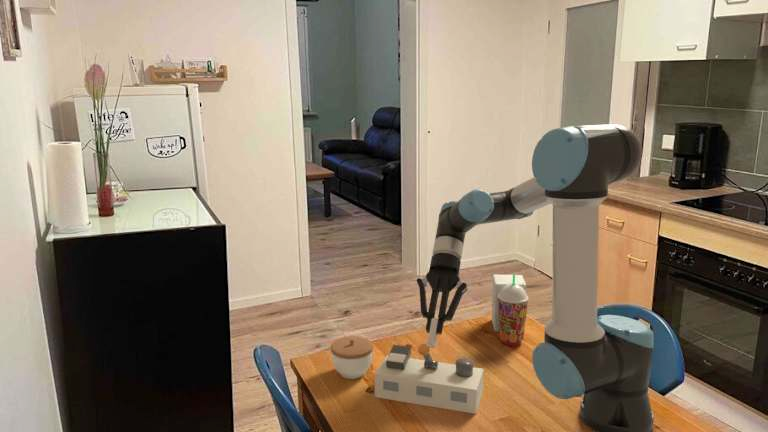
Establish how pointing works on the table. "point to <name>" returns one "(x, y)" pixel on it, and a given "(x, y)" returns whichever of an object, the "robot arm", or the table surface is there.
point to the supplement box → (498, 284)
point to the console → (430, 386)
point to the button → (464, 367)
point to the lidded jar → (352, 356)
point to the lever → (427, 357)
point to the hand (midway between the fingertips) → (431, 345)
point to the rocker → (398, 357)
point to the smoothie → (512, 313)
